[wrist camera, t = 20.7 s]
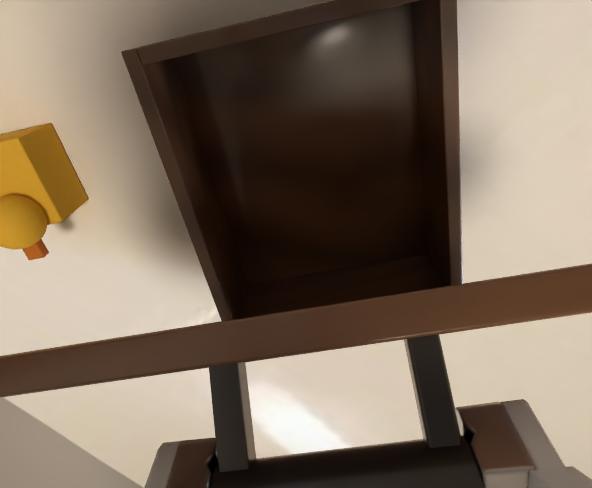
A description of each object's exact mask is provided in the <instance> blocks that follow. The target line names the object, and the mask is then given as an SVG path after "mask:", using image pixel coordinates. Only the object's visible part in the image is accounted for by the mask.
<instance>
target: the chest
mask: <svg viewBox="0 0 592 488" xmlns="http://www.w3.org/2000/svg"><path fill="white" fill-rule="evenodd" d="M122 56H123V58H124V61H125V64H126V66H127V69H128V72H129V74H130V77H131V80H132V82H133V85H134V88H135V90H136V93H137V96H138V98H139V101H140V104H141V107H142V109H143V112H144V115H145V117H146V120H147V123H148V125H149V128H150V131H151V133H152V136H153V139H154V141H155V144H156V147H157V149H158V152H159V155H160V157H161V160H162V163H163V165H164V168H165V171H166V173H167V176H168V179H169V181H170V184H171V187H172V189H173V192H174V195H175V197H176V200H177V203H178V205H179V208H180V211H181V213H182V216H183V219H184V221H185V224H186V227H187V229H188V232H189V235H190V238H191V240H192V243H193V246H194V248H195V251H196V254H197V256H198V259H199V262H200V264H201V267H202V270H203V272H204V275H205V278H206V280H207V283H208V286H209V288H210V291H211V294H212V296H213V299H214V302H215V304H216V307H217V310H218V312H219V315H220V318H221V320H222V321H228V320H234V319H241V318H247V317H254V316H260V315H266V314H273V313H279V312H285V311H292V310H298V309H305V308H311V307H317V306H324V305H330V304H337V303H343V302H349V301H356V300H362V299H369V298H375V297H381V296H388V295H394V294H401V293H407V292H413V291H420V290H426V289H433V288H439V287H445V286H452V285H458V284H463V276H462V228H461V180H460V132H459V84H458V37H457V0H334V1H330V2H326V3H321V4H317V5H313V6H309V7H305V8H300V9H296V10H292V11H288V12H284V13H280V14H275V15H271V16H267V17H263V18H259V19H255V20H250V21H246V22H242V23H238V24H234V25H230V26H225V27H221V28H217V29H213V30H209V31H205V32H200V33H196V34H192V35H188V36H184V37H180V38H175V39H171V40H167V41H163V42H159V43H154V44H150V45H146V46H142V47H138V48H134V49H129V50H125V51H122Z"/></svg>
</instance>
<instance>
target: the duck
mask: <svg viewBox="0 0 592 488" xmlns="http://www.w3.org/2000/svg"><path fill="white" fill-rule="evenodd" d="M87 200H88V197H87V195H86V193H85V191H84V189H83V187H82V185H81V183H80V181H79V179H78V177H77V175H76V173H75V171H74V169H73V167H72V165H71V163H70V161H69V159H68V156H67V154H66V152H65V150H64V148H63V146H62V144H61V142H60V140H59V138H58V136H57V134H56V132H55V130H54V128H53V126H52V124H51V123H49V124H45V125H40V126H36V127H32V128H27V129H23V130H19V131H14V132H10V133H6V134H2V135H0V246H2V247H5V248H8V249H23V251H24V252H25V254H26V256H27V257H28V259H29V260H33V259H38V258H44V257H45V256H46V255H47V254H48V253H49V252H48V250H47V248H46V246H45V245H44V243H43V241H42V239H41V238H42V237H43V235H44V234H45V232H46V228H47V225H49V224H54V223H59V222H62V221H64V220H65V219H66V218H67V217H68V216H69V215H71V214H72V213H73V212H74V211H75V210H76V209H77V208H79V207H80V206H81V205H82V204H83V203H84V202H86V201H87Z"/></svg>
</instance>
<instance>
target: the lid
mask: <svg viewBox="0 0 592 488" xmlns="http://www.w3.org/2000/svg"><path fill="white" fill-rule="evenodd" d="M591 312H592V264H586V265H580V266H573V267H567V268H560V269H554V270H548V271H541V272H535V273H529V274H522V275H516V276H509V277H503V278H497V279H490V280H484V281H477V282H471V283H465V284H458V285H452V286H445V287H439V288H433V289H426V290H420V291H413V292H407V293H401V294H394V295H388V296H381V297H375V298H369V299H362V300H356V301H349V302H343V303H337V304H330V305H324V306H317V307H311V308H305V309H298V310H292V311H285V312H279V313H273V314H266V315H260V316H254V317H247V318H241V319H234V320H228V321H222V322H215V323H209V324H202V325H196V326H190V327H183V328H177V329H170V330H164V331H158V332H151V333H145V334H138V335H132V336H126V337H119V338H113V339H106V340H100V341H94V342H87V343H81V344H74V345H68V346H62V347H55V348H49V349H42V350H36V351H30V352H23V353H17V354H11V355H4V356H0V397H7V396H14V395H21V394H28V393H35V392H42V391H49V390H56V389H63V388H70V387H77V386H83V385H90V384H97V383H104V382H111V381H118V380H125V379H132V378H139V377H146V376H153V375H160V374H167V373H174V372H181V371H188V370H195V369H202V368H209V373H210V383H211V394H212V404H213V415H214V426H215V436H216V447H217V457H218V465H217V466H216V468H215V469H214V471H213V474H212V478H211V482H210V486H209V488H486V487H485V484H484V482H483V479H482V476H481V473H480V470H479V467H478V464H477V461H476V458H475V455H474V453H473V451H472V448H471V445H470V443H469V442H468V440H467V438H466V437H465V436H463V435H460V430H459V425H458V421H457V416H456V411H455V407H454V402H453V397H452V393H451V388H450V383H449V379H448V374H447V369H446V365H445V360H444V356H443V351H442V346H441V342H440V337H439V334H445V333H452V332H459V331H466V330H473V329H480V328H487V327H494V326H501V325H507V324H514V323H521V322H528V321H535V320H542V319H549V318H556V317H563V316H570V315H577V314H584V313H591ZM403 339H404V342H405V347H406V352H407V357H408V362H409V367H410V372H411V377H412V382H413V388H414V393H415V398H416V403H417V408H418V413H419V418H420V423H421V428H422V433H423V438H424V439H421V440H412V441H403V442H395V443H386V444H378V445H369V446H360V447H352V448H343V449H335V450H326V451H317V452H309V453H300V454H292V455H283V456H274V457H266V458H257V459H256V454H255V445H254V436H253V427H252V418H251V410H250V401H249V392H248V383H247V374H246V366H245V362H250V361H257V360H264V359H271V358H278V357H285V356H292V355H299V354H306V353H313V352H320V351H327V350H334V349H341V348H348V347H355V346H361V345H368V344H375V343H382V342H389V341H396V340H403Z"/></svg>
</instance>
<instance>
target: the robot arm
mask: <svg viewBox="0 0 592 488" xmlns="http://www.w3.org/2000/svg"><path fill="white" fill-rule="evenodd" d="M455 411H456V416H457V421H458V425H459V430H460V435H463V436H465V437H466V438H467V440H468V442H469V443H470V445H471V448H472V451H473V453H474V455H475V458H476V461H477V464H478V467H479V470H480V473H481V476H482V479H483V482H484V484H485V487H486V488H592V479H590V478H589V477H587V476H586V475H584V474H583V473H582V472H580V471H579V470H577V469H576V468H574V467H565V465H564V464H563V462H562V460H561V459H560V457H559V455H558V453H557V452H556V450H555V448H554V447H553V445H552V443H551V441H550V440H549V438H548V436H547V435H546V433H545V431H544V429H543V428H542V426H541V424H540V423H539V421H538V419H537V417H536V416H535V414H534V412H533V411H532V409H531V407H530V405H529V404H528V403H527V402H526V401H525V400H524V399H521V400H513V401H506V402H493V403H486V404H479V405H471V406H464V407H457V408H455ZM217 465H218V457H217V447H216V438H207V439H196V440H185V441H176V442H167V443H163V444H162V445H161V446H160V448H159V449H158V451H157V454H156V457H155V460H154V462H153V465H152V468H151V471H150V474H149V477H148V480H147V482H146V485H145V488H209V486H210V482H211V478H212V474H213V471H214V469H215V468H216V466H217Z"/></svg>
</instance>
